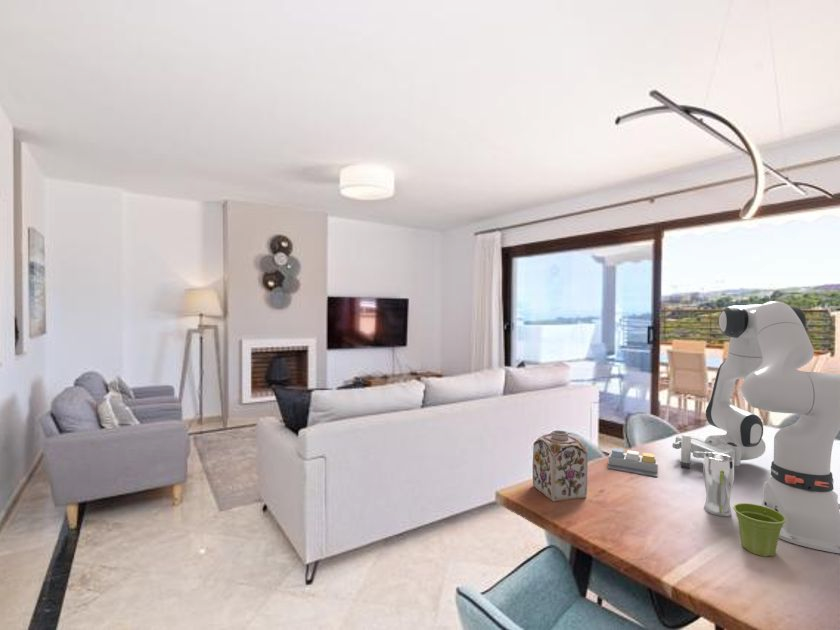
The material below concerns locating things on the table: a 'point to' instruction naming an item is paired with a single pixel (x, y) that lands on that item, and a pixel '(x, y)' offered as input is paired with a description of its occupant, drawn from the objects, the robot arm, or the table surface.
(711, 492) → the beer glass
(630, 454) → the key white
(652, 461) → the key amber
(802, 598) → the table surface
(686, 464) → the white rounded cylinder
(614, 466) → the keypad
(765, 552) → the plant pot
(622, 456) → the key slate
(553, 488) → the decorative jar
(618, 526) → the table surface
